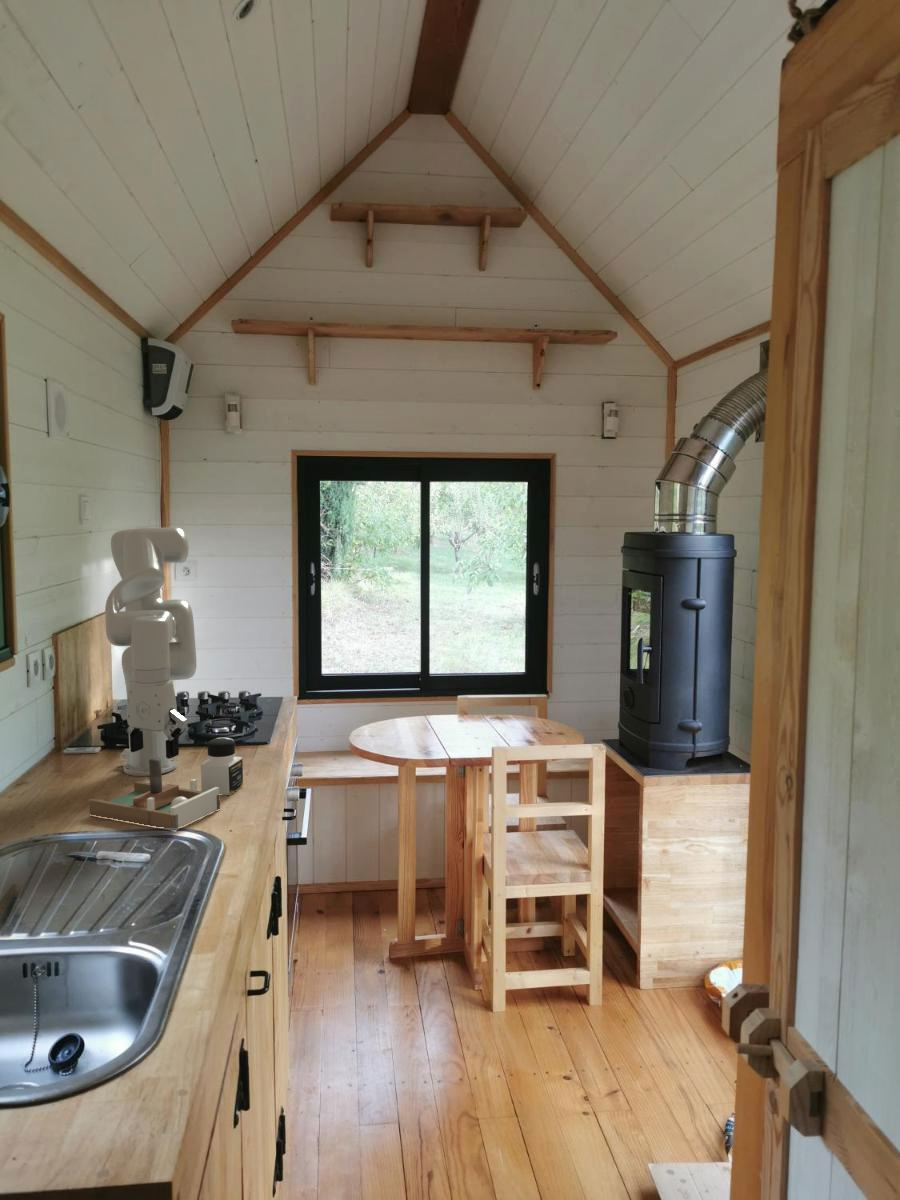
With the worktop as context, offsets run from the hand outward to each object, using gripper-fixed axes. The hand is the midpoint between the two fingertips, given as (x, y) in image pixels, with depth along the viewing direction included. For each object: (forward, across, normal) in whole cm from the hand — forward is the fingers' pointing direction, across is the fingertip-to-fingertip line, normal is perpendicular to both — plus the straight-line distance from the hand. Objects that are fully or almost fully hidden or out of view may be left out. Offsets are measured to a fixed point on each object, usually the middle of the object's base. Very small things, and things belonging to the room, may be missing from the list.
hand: (154, 753), depth 185 cm
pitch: (+13, 0, -1) cm, 13 cm away
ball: (+10, +7, -1) cm, 13 cm away
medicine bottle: (+14, +4, +17) cm, 22 cm away
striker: (+11, +1, -1) cm, 11 cm away
